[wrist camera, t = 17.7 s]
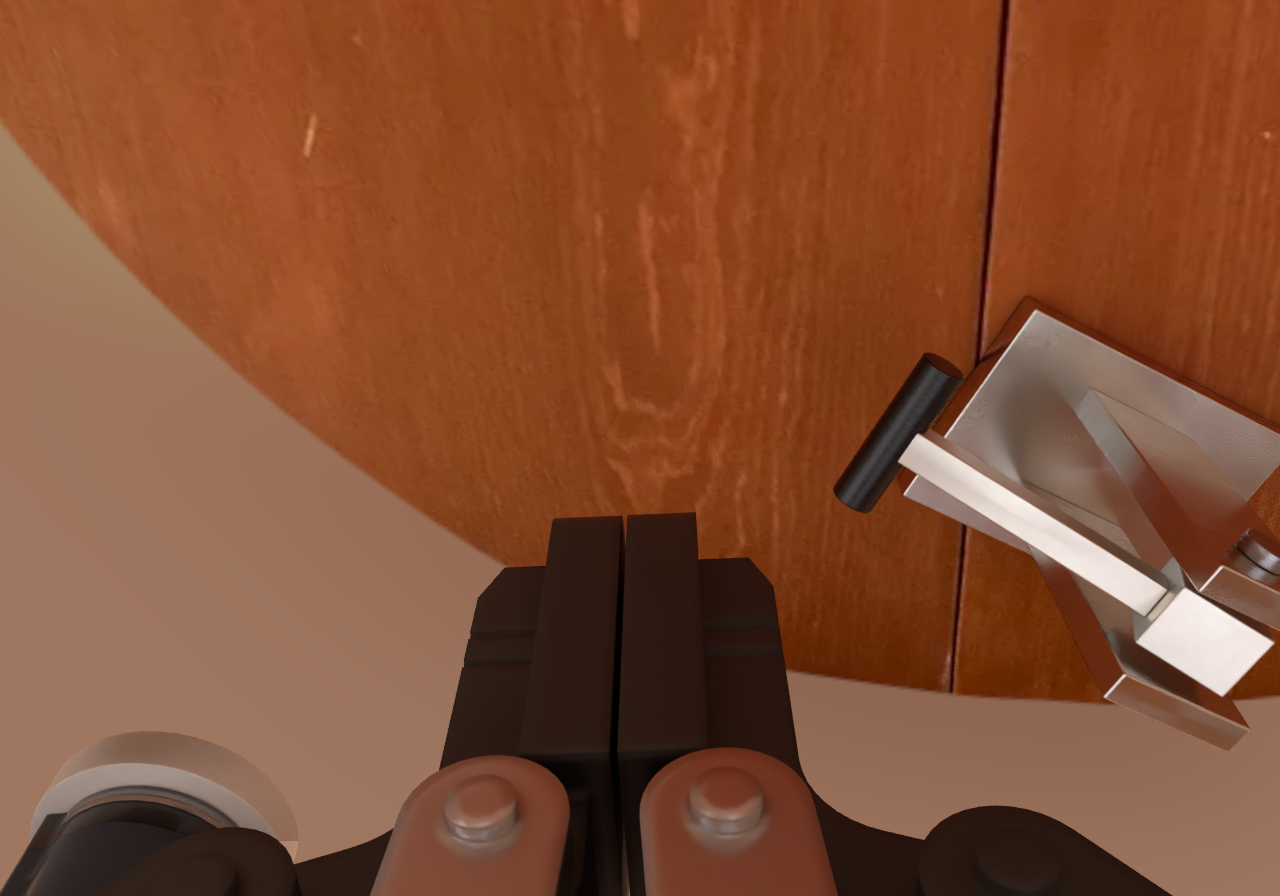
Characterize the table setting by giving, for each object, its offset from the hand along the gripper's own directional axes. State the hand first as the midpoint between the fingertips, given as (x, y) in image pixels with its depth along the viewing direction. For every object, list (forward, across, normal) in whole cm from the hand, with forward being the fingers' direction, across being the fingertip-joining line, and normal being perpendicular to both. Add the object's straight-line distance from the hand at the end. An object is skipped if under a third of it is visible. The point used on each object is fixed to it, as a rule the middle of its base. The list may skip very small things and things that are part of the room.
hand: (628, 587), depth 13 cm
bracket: (+27, -15, +14) cm, 34 cm away
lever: (+20, -12, +12) cm, 26 cm away
